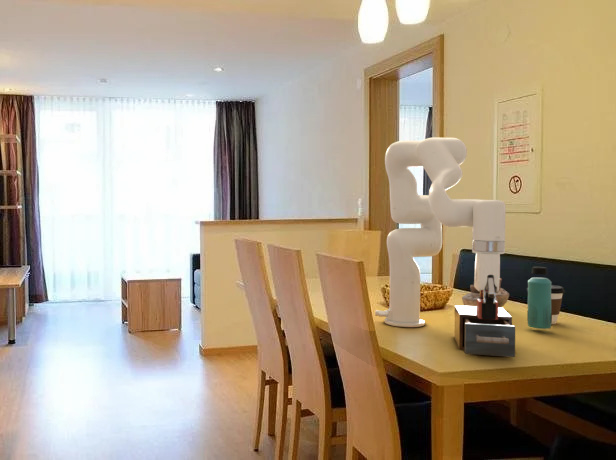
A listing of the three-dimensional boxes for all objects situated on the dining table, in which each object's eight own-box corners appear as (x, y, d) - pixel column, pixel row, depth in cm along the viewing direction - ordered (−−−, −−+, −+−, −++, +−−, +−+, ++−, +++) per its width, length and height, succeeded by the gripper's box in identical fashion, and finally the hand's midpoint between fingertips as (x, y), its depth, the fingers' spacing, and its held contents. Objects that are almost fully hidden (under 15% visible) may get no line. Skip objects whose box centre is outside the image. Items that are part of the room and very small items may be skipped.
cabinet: (511, 352, 152) (512, 316, 152) (459, 349, 156) (459, 314, 156) (502, 340, 166) (502, 307, 166) (454, 337, 170) (454, 305, 170)
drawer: (518, 362, 140) (519, 330, 140) (467, 358, 144) (467, 327, 143) (505, 344, 157) (505, 316, 157) (459, 341, 161) (460, 314, 161)
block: (478, 318, 149) (478, 301, 149) (476, 315, 153) (476, 298, 153) (498, 319, 148) (498, 302, 148) (495, 316, 152) (495, 299, 152)
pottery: (514, 310, 213) (514, 278, 212) (491, 320, 195) (491, 285, 194) (481, 307, 220) (481, 275, 220) (456, 316, 203) (457, 282, 202)
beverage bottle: (555, 334, 174) (556, 268, 173) (531, 333, 175) (532, 267, 174) (546, 329, 180) (547, 265, 179) (523, 328, 181) (524, 265, 181)
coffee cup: (546, 318, 197) (547, 283, 197) (572, 325, 187) (573, 288, 186) (518, 319, 195) (519, 284, 195) (543, 326, 185) (543, 289, 184)
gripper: (468, 244, 159) (467, 310, 160) (476, 249, 143) (475, 322, 144) (499, 245, 156) (497, 312, 157) (510, 250, 141) (509, 324, 141)
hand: (487, 316), depth 151 cm, fingers closed on block, 4 cm apart
